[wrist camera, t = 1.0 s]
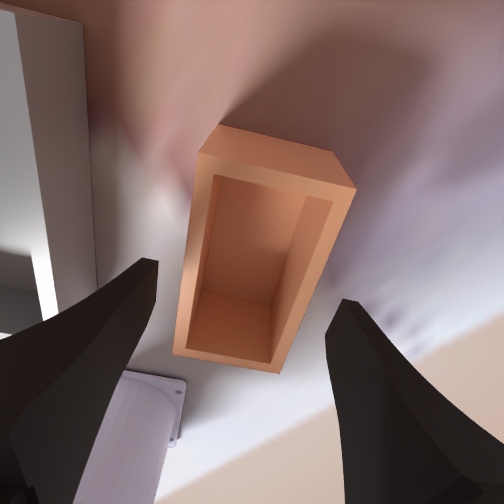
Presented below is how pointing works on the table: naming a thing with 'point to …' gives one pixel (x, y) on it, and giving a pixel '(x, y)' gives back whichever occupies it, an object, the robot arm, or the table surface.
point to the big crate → (43, 169)
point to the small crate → (256, 246)
